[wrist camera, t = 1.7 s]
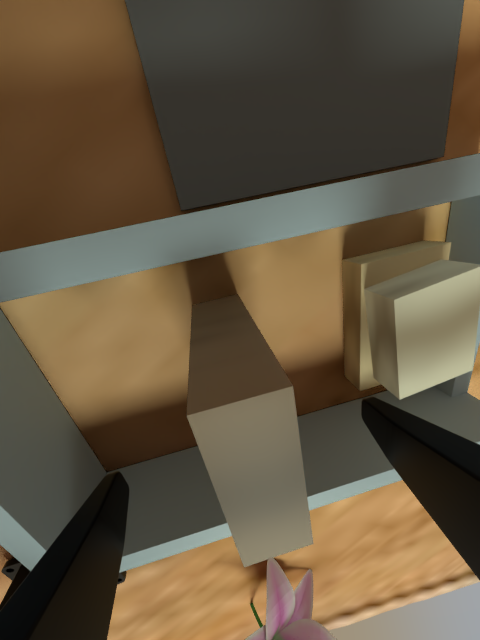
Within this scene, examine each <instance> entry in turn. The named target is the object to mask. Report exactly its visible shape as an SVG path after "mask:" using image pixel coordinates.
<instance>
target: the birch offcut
mask: <svg viewBox="0 0 480 640" xmlns="http://www.w3.org/2000/svg"><path fill="white" fill-rule="evenodd" d="M364 294H365V303H366V312H367V321H368V331H369V340H370V349H371V358H372V367H373V376H374V379H376V380H377V381H378V382H379V383H380V384H381V385H383V386H384V387H385V388H386V389H387V390H389V391H390V392H391V393H392V394H393V395H394V396H396V397H397V398H398V399H399V400H401V399H403V398H405V397H408V396H410V395H413V394H415V393H418V392H420V391H423V390H425V389H428V388H430V387H433V386H435V385H437V384H440V383H442V382H445V381H447V380H450V379H452V378H455V377H457V376H460V375H462V374H465V373H467V372H469V371H472V370H473V364H474V355H475V346H476V337H477V327H478V318H479V309H480V264H473V263H465V262H457V261H450V260H442V259H441V260H438V261H436V262H433V263H430V264H428V265H425V266H423V267H420V268H417V269H415V270H412V271H409V272H407V273H404V274H402V275H399V276H396V277H394V278H391V279H389V280H386V281H383V282H381V283H378V284H376V285H373V286H370V287H368V288H365V289H364Z"/></svg>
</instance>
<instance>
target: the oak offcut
mask: <svg viewBox="0 0 480 640" xmlns="http://www.w3.org/2000/svg"><path fill="white" fill-rule="evenodd" d="M450 248H451V242H438V241H419V242H415V243H411V244H407V245H403V246H398V247H394V248H390V249H386V250H382V251H378V252H373V253H369V254H365V255H361V256H357V257H353V258H348V259H344V260H342V282H343V330H344V376H345V377H346V378H347V379H348V380H349V381H350V382H351V383H352V384H353V385H354V386H355V387H356V388H357V389H358V390H359V391H362V390H365V389H369V388H372V387H375V386H379V385H381V384H380V383H379V382H378V381H377V380H376V379H374V376H373V367H372V358H371V349H370V340H369V331H368V321H367V312H366V303H365V294H364V289H365V288H368V287H370V286H373V285H376V284H378V283H381V282H383V281H386V280H389V279H391V278H394V277H396V276H399V275H402V274H404V273H407V272H409V271H412V270H415V269H417V268H420V267H423V266H425V265H428V264H430V263H433V262H436V261H438V260H441V259H442V260H449V254H450Z"/></svg>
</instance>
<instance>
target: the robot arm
mask: <svg viewBox="0 0 480 640" xmlns="http://www.w3.org/2000/svg"><path fill="white" fill-rule="evenodd" d="M361 416H362V419H363V421H364V423H365V425H366V426H367V428H368V429H369V431H370V433H371V434H372V436H373V437H374V439H375V441H376V442H377V444H378V445H379V447H380V448H381V450H382V452H383V453H384V455H385V456H386V458H387V459H388V461H389V462H390V464H391V465H392V466H393V468H394V469H395V470H396V472H397V473H398V474H399V476H400V477H401V478H402V479H403V481H404V482H405V483H406V485H407V486H408V487H409V489H410V490H411V491H412V493H413V494H414V495H415V496H416V498H417V499H418V500H419V502H420V503H421V504H422V506H423V507H424V508H425V509H426V511H427V512H428V513H429V515H430V516H431V517H432V519H433V520H434V521H435V523H436V524H437V525H438V526H439V528H440V529H441V530H442V532H443V533H444V534H445V536H446V537H447V538H448V539H449V541H450V542H451V543H452V545H453V546H454V547H455V549H456V550H457V551H458V553H459V554H460V555H461V556H462V558H463V559H464V560H465V562H466V563H467V564H468V566H469V567H470V568H471V570H472V571H473V572H474V573H475V575H476V576H477V577H478V579H479V580H480V445H479V444H477V443H475V442H473V441H471V440H468V439H466V438H464V437H462V436H460V435H457V434H455V433H453V432H451V431H449V430H446V429H444V428H442V427H440V426H438V425H435V424H433V423H431V422H429V421H427V420H424V419H422V418H420V417H418V416H415V415H413V414H411V413H409V412H407V411H404V410H402V409H400V408H398V407H396V406H393V405H391V404H389V403H387V402H385V401H382V400H380V399H378V398H376V397H368V398H364V399H362V402H361ZM129 492H130V491H129V485H128V483H127V482H126V480H125V478H124V477H123V475H122V473H121V472H120V471H116V472H112V473H109V474H107V475H106V476H105V477H104V478H103V479H102V480H101V482H100V483H99V484H98V485H97V487H96V488H95V489H94V491H93V492H92V493H91V494H90V496H89V497H88V498H87V500H86V501H85V502H84V503H83V505H82V506H81V507H80V509H79V510H78V511H77V512H76V514H75V515H74V516H73V518H72V519H71V520H70V521H69V523H68V524H67V525H66V527H65V528H64V529H63V530H62V532H61V533H60V534H59V536H58V537H57V538H56V539H55V541H54V542H53V543H52V545H51V546H50V547H49V548H48V550H47V551H46V552H45V554H44V555H43V556H42V557H41V559H40V560H39V561H38V563H37V564H36V565H35V566H34V568H33V569H32V570H31V571H30V570H29V569H27V568H26V567H25V566H24V565H23V564H22V563H21V562H19V561H18V560H17V559H16V558H14V559H11V560H8V561H7V562H6V563H5V565H4V567H3V569H2V573H4V574H5V575H6V576H7V577H9V578H10V579H11V580H12V583H11V585H10V587H9V589H8V591H7V593H6V594H5V596H4V598H3V600H2V602H1V604H0V640H107V636H108V630H109V625H110V620H111V614H112V609H113V604H114V598H115V593H116V588H117V584H119V583H122V582H124V581H125V578H126V571H123V572H120V566H121V561H122V556H123V550H124V543H125V534H126V524H127V513H128V503H129ZM119 572H120V573H119Z"/></svg>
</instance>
